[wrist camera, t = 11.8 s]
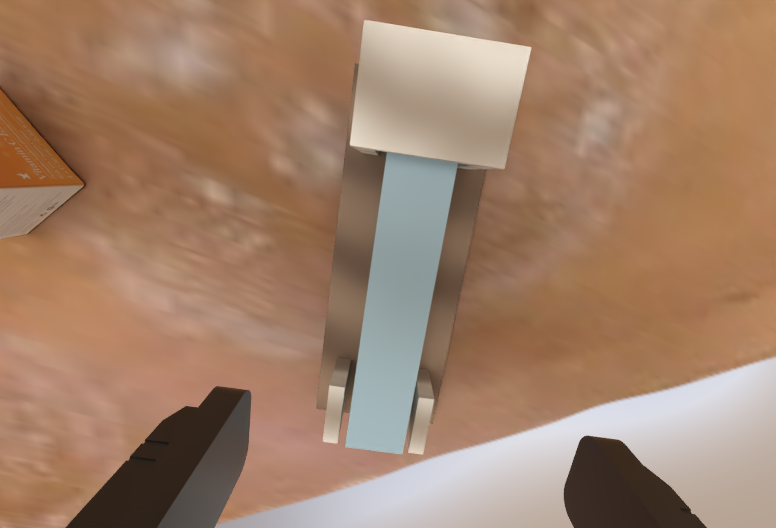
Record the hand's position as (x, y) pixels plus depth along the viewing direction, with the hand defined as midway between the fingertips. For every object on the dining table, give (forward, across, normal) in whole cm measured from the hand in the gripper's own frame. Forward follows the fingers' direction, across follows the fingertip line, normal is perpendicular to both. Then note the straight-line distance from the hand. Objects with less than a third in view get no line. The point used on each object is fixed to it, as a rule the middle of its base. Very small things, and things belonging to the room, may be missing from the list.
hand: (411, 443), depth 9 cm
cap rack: (+18, 0, 0) cm, 18 cm away
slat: (+16, 0, +1) cm, 17 cm away
